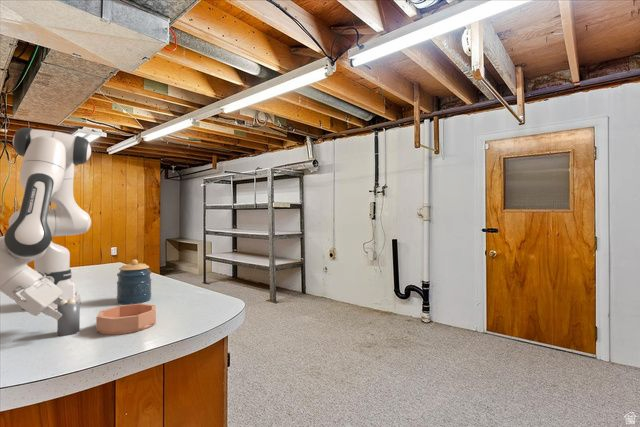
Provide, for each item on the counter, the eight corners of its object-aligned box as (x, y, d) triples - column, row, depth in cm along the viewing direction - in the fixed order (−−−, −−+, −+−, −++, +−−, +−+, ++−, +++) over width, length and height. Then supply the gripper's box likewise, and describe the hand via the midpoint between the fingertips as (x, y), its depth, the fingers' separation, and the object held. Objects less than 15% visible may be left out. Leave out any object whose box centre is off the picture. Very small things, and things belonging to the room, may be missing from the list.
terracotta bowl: (101, 322, 112) (102, 307, 112) (155, 315, 120) (155, 301, 120) (93, 338, 98) (93, 321, 98) (155, 329, 105) (155, 313, 105)
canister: (150, 295, 150) (150, 256, 150) (152, 302, 139) (152, 260, 139) (116, 299, 143) (117, 258, 143) (116, 306, 132) (116, 262, 132)
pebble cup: (59, 331, 104) (60, 298, 104) (81, 328, 106) (81, 296, 106) (55, 337, 99) (55, 302, 99) (77, 334, 101) (77, 300, 101)
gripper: (20, 282, 89) (65, 313, 94) (43, 271, 108) (80, 297, 112) (-2, 300, 87) (45, 332, 92) (26, 286, 106) (63, 312, 110)
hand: (64, 313), depth 102 cm, fingers open, 8 cm apart
